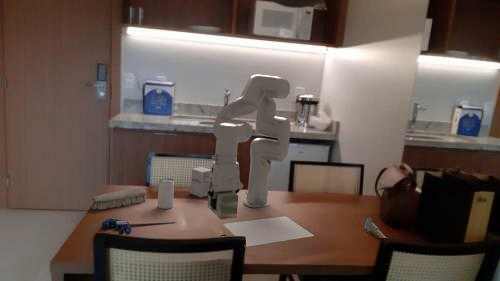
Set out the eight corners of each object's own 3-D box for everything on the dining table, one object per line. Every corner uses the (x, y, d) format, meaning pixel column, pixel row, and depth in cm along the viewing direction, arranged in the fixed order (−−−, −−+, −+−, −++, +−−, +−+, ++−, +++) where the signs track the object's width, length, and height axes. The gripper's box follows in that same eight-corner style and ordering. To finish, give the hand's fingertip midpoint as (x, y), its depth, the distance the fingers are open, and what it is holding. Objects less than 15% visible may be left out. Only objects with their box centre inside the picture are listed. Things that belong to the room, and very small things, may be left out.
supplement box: (189, 193, 183) (191, 168, 181) (200, 190, 189) (202, 166, 187) (200, 197, 179) (202, 172, 177) (211, 194, 185) (213, 169, 183)
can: (154, 207, 161) (156, 180, 159) (161, 202, 168) (163, 177, 165) (168, 210, 160) (170, 183, 158) (175, 205, 166) (176, 179, 164)
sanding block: (207, 206, 139) (209, 186, 137) (222, 205, 142) (224, 184, 140) (220, 219, 128) (222, 197, 127) (236, 217, 131) (238, 195, 130)
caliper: (364, 229, 161) (366, 216, 160) (366, 229, 161) (368, 215, 160) (395, 252, 142) (398, 237, 141) (397, 252, 142) (400, 237, 141)
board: (222, 227, 148) (222, 223, 148) (285, 219, 163) (285, 216, 162) (245, 250, 131) (246, 246, 131) (313, 239, 145) (314, 235, 145)
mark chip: (219, 236, 141) (219, 235, 141) (227, 235, 143) (227, 233, 143) (224, 240, 138) (224, 239, 138) (232, 239, 140) (232, 237, 140)
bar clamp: (103, 230, 131) (101, 218, 140) (102, 236, 131) (100, 225, 140) (192, 225, 145) (185, 215, 154) (191, 231, 146) (184, 221, 154)
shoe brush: (96, 212, 151) (96, 200, 150) (88, 206, 156) (88, 195, 155) (149, 201, 168) (149, 191, 167) (140, 196, 173) (141, 186, 172)
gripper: (206, 162, 124) (203, 213, 127) (252, 160, 132) (248, 208, 136) (198, 156, 130) (195, 205, 134) (242, 154, 138) (238, 201, 142)
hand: (222, 206), depth 135 cm, fingers closed on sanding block, 6 cm apart
